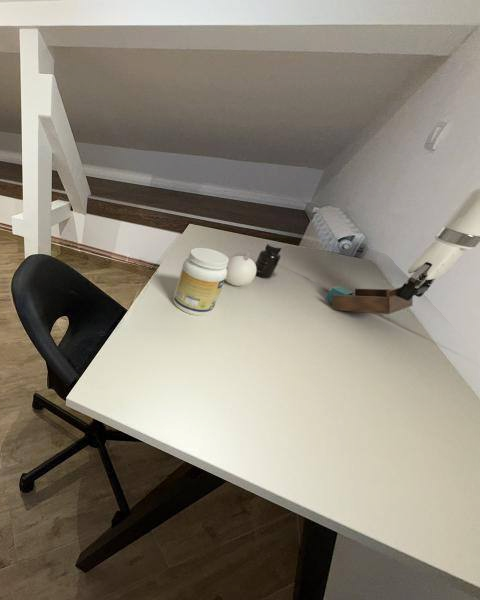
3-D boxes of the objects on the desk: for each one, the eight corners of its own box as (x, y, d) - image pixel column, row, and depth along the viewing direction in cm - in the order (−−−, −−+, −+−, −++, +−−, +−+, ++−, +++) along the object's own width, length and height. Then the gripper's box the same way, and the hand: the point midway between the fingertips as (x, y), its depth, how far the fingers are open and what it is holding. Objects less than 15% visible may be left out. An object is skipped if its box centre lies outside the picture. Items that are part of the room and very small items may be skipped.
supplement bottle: (259, 269, 122) (272, 240, 115) (274, 277, 117) (289, 248, 110) (247, 271, 119) (260, 242, 112) (262, 280, 114) (277, 250, 107)
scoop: (434, 306, 90) (434, 282, 89) (411, 316, 84) (411, 290, 83) (356, 302, 106) (355, 282, 106) (332, 309, 101) (332, 288, 100)
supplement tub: (214, 320, 90) (236, 268, 80) (172, 311, 91) (188, 260, 82) (210, 298, 100) (229, 250, 90) (171, 291, 101) (186, 242, 92)
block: (353, 292, 102) (339, 285, 106) (346, 294, 101) (332, 287, 104) (346, 303, 105) (332, 296, 108) (338, 306, 103) (325, 299, 107)
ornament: (251, 294, 105) (266, 262, 98) (219, 287, 107) (232, 255, 100) (247, 280, 113) (260, 250, 106) (217, 274, 115) (229, 244, 108)
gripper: (453, 229, 85) (406, 285, 95) (424, 234, 78) (377, 293, 88) (490, 241, 80) (437, 298, 90) (462, 247, 73) (408, 308, 83)
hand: (408, 295), depth 89 cm, fingers closed on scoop, 6 cm apart
